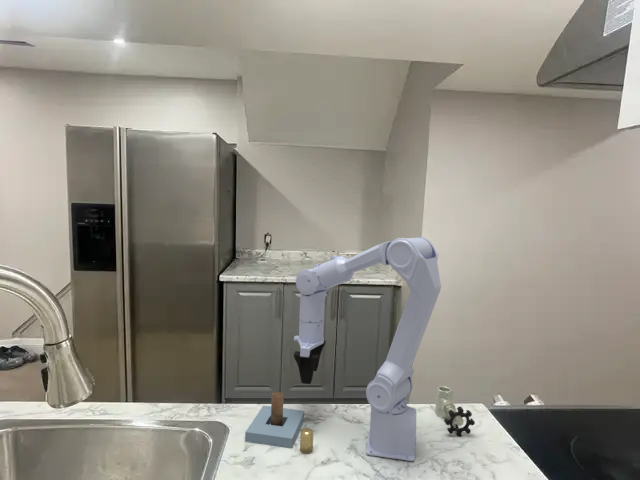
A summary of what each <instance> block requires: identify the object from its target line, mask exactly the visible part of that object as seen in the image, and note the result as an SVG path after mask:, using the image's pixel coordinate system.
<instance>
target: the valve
mask: <svg viewBox="0 0 640 480" xmlns="http://www.w3.org/2000/svg"><path fill="white" fill-rule="evenodd" d="M435 393H436V395H435V397H434V405H435V407H434V408H435V409H434V413H435V414H436V416H437V417H438V418H441V419H442V418H443V419H444V421H443V422H444V423H445V425H447V426H449V427H447V428H446V431H447V432H448V433H449V435H450V434H453V433H454V432H455V435H456V436H457V437H458V438H461V437H462V436H463V432H464V433H466V434H471V432H472V431H471V429H470V428H469V426H474V425H475V424H476V423H475V420H474V419H473V418H471V417H472V416H473V413H472V411H470V410H469V409H466V410H465V412H464V408H463V407H462V406H458V407H457V408H456V406H455V404H454V400H453V393H454V391H453V389H452V388H451V387H449V386H445V385H439V386H437V387H436V391H435ZM463 418H465V419H466V420H465V421H466V422H465V424H464V419H463ZM453 423H454V424H453ZM463 425H464V426H463ZM461 426H462V427H461Z"/></svg>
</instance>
